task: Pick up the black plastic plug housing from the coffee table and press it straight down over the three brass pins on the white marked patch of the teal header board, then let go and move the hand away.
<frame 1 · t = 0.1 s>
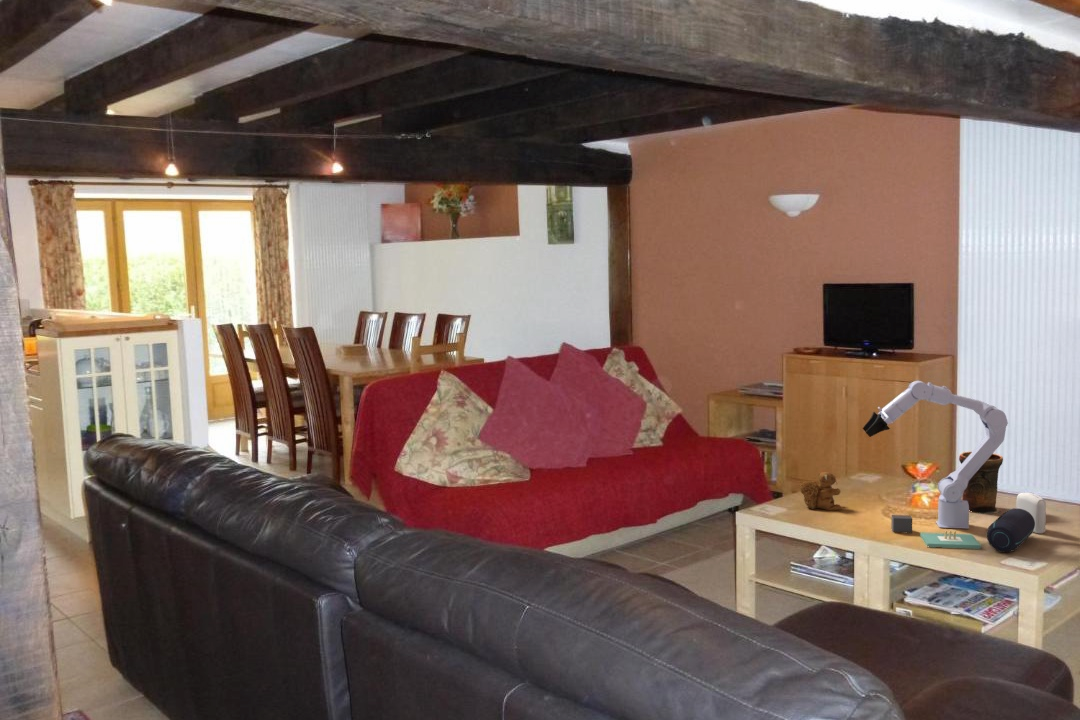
hand: (866, 432, 325), 32 cm above the table, tool tilted 50°, fingers open, 7 cm apart
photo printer: (1030, 530, 316), on the table
plug housing: (901, 531, 318), on the table
stuffed squirrel: (820, 507, 350), on the table
portable speaker: (1010, 545, 301), on the table
header board: (949, 542, 305), on the table
vessel: (979, 509, 343), on the table
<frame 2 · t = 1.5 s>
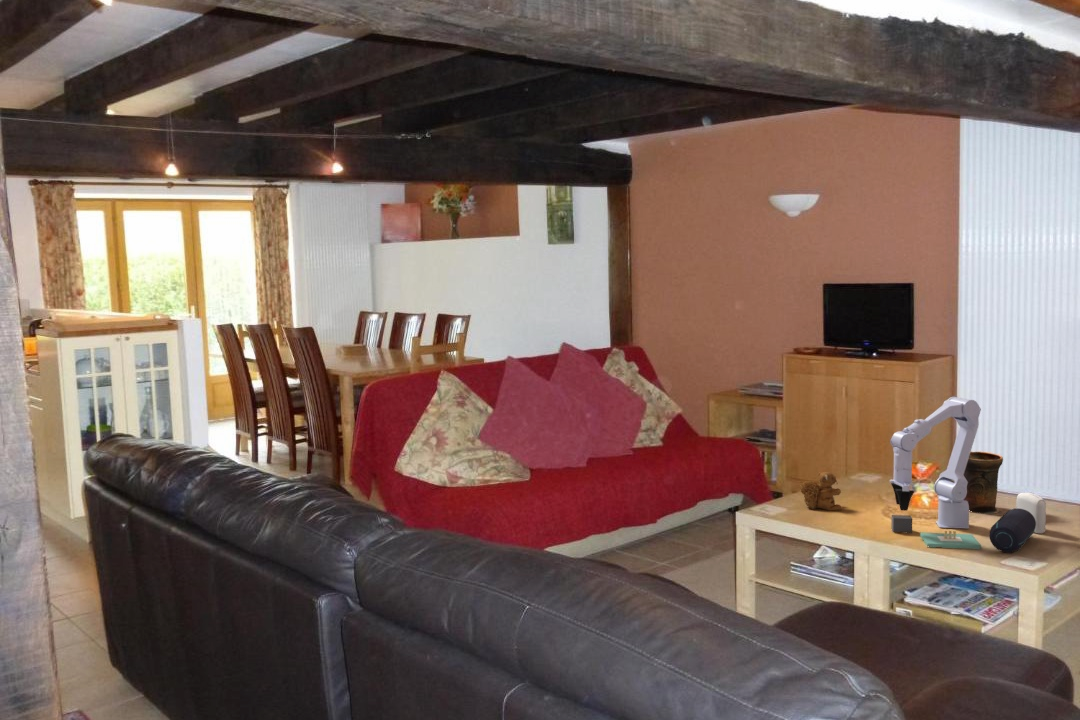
hand: (901, 507, 317), 8 cm above the table, tool pointing down, fingers open, 7 cm apart
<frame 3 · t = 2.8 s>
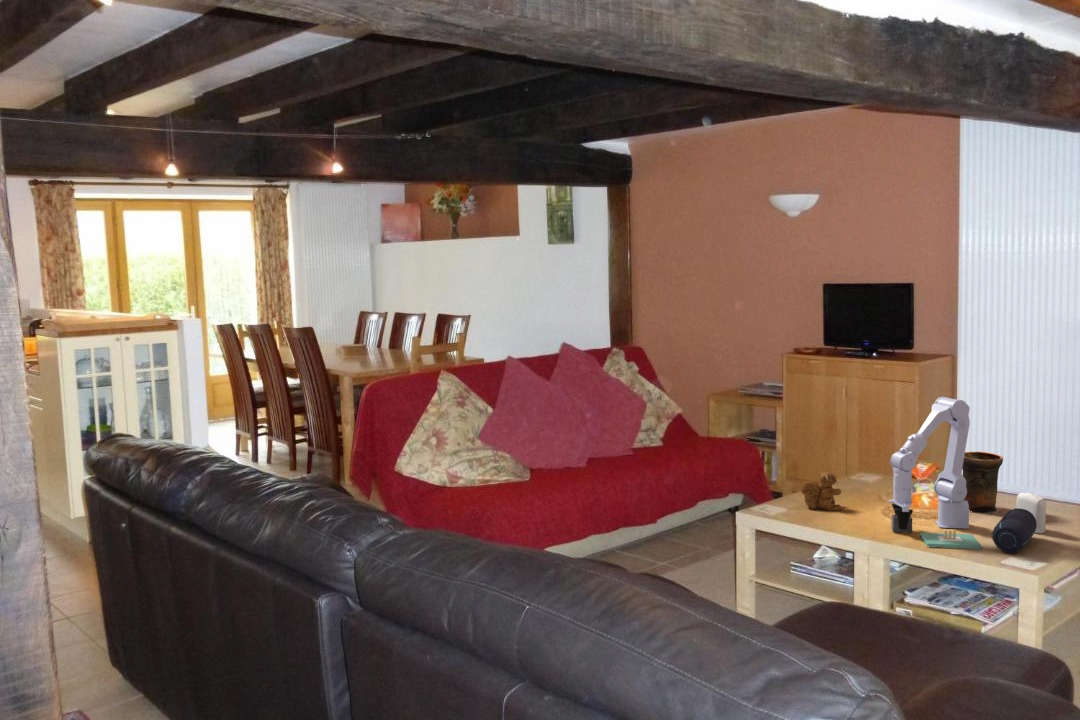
hand: (901, 527, 318), 1 cm above the table, tool pointing down, fingers closed on plug housing, 4 cm apart
plug housing: (901, 531, 318), on the table, touching gripper
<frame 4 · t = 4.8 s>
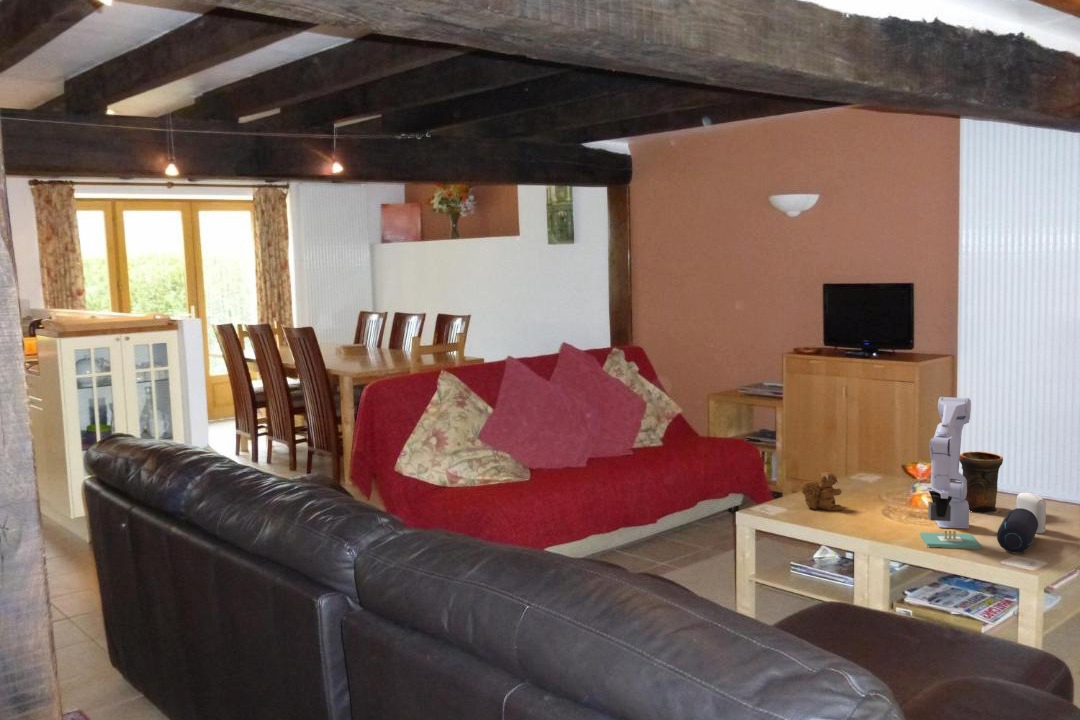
hand: (939, 514, 307), 8 cm above the table, tool pointing down, fingers closed on plug housing, 4 cm apart
plug housing: (939, 519, 307), point 7 cm above the table, touching gripper
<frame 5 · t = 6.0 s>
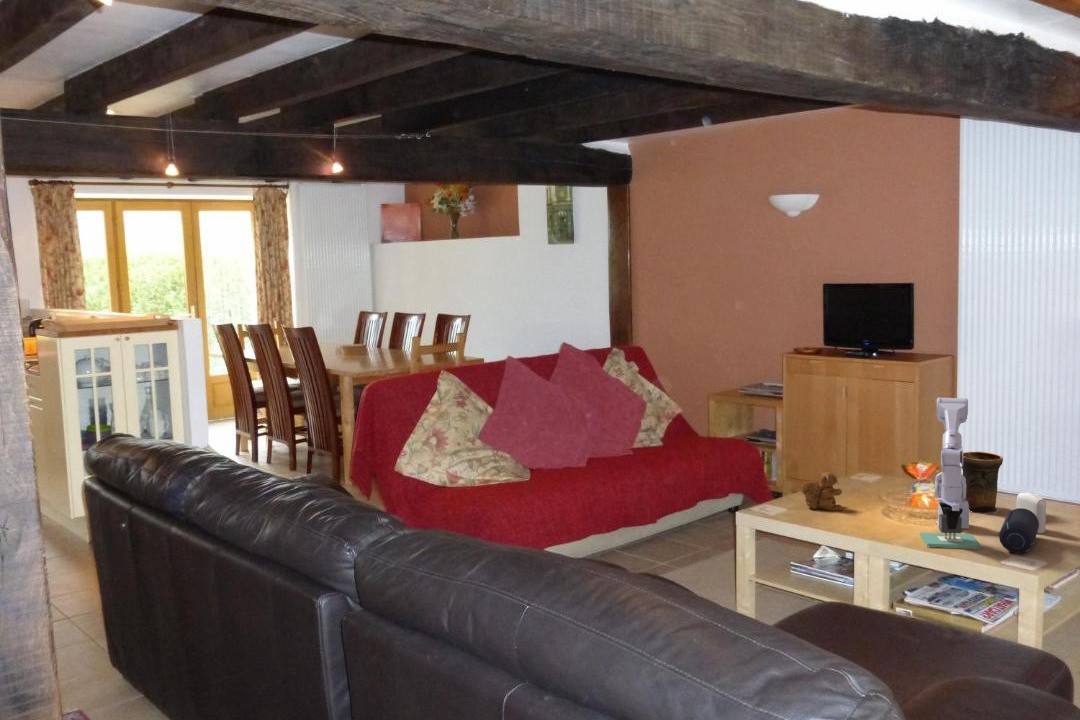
hand: (950, 526, 304), 5 cm above the table, tool pointing down, fingers closed on plug housing, 4 cm apart
plug housing: (949, 531, 304), point 4 cm above the table, touching gripper
when the fingers open (3 cm above the table, at t = 7.0 s): plug housing stays where it is, resting on header board.
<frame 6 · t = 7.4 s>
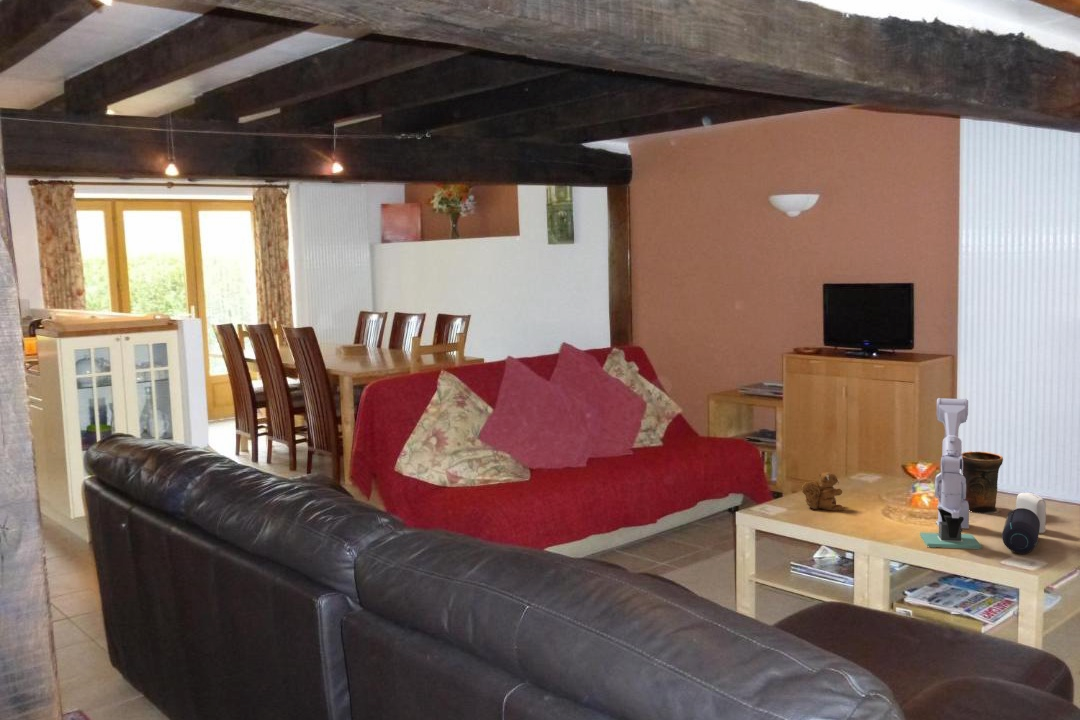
hand: (950, 534, 305), 3 cm above the table, tool pointing down, fingers open, 7 cm apart
plug housing: (949, 538, 305), point 1 cm above the table, touching header board
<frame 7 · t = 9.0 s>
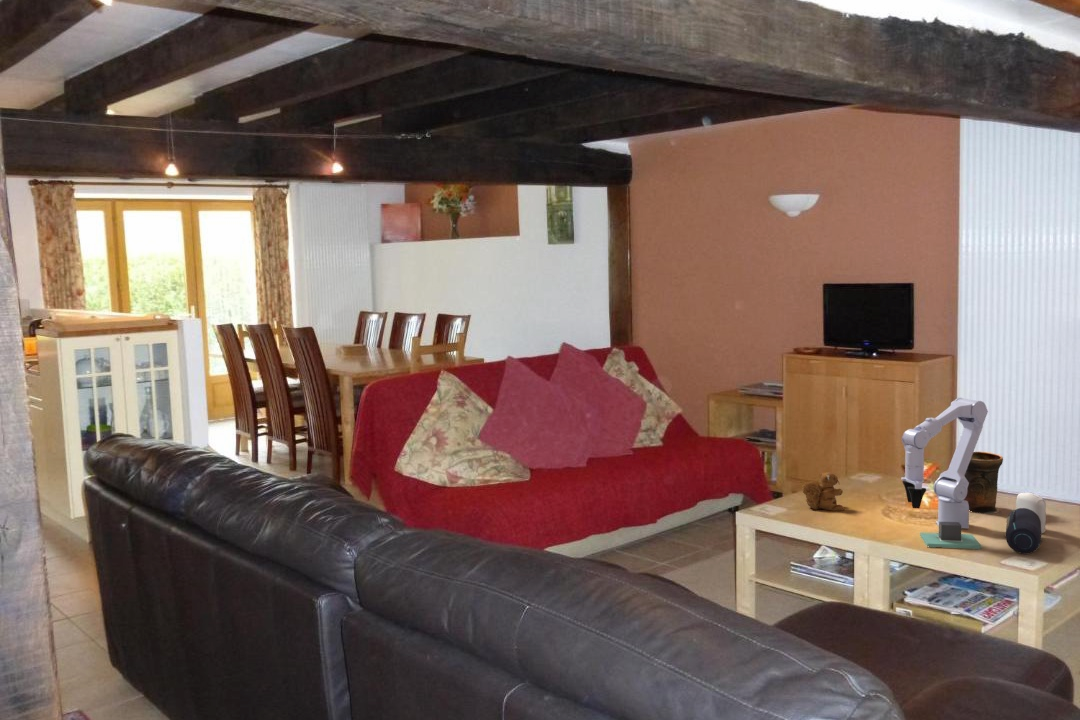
hand: (913, 505, 316), 9 cm above the table, tool pointing down, fingers open, 7 cm apart
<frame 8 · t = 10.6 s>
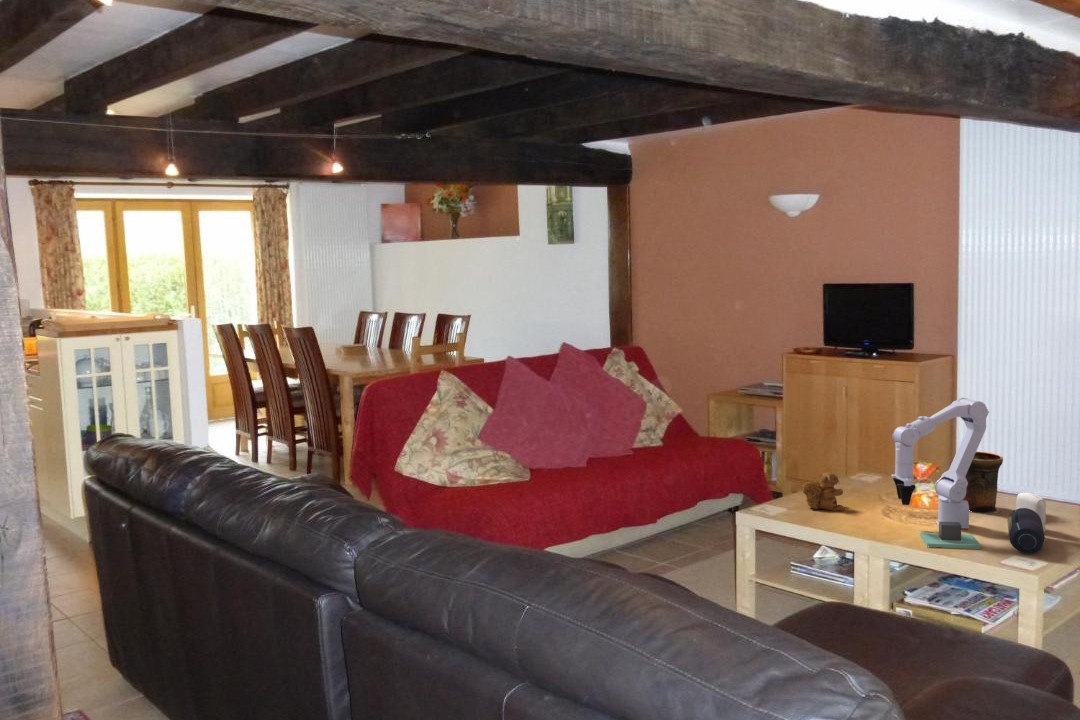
hand: (903, 501, 320), 9 cm above the table, tool pointing down, fingers open, 7 cm apart
at the end: plug housing 0.1 cm off-centre on the header board, point 1.3 cm above the header board's base; plug housing tilted 0°; the gripper is holding nothing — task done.
